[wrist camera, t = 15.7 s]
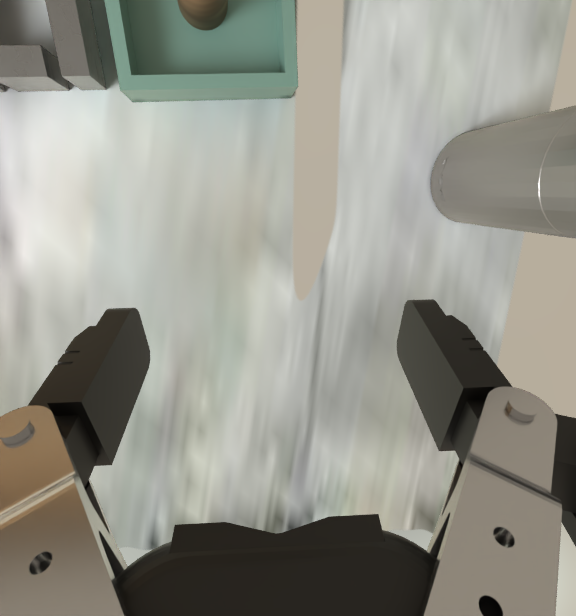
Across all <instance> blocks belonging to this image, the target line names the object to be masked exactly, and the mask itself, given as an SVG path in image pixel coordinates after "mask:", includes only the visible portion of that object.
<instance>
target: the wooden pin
mask: <svg viewBox="0 0 576 616" xmlns="http://www.w3.org/2000/svg"><path fill="white" fill-rule="evenodd" d="M177 1H178V5H179V9H180V11H181V13H182V15H183V17H184V18H185V20H186V21H187V22H188V23H189V24H190V25H192V26H193V27H195V28H197V29H199V30H205V31H207V30H213V29H215V28H217V27H218V26H219V25H220V24H221V23H222V22H223V21H224V19H225V17H226V14H227V9H228V0H177Z"/></svg>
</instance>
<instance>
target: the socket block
mask: <svg viewBox="0 0 576 616" xmlns="http://www.w3.org/2000/svg"><path fill="white" fill-rule="evenodd" d="M45 2H46V6H47V11H48V15H49V20H50V25H51V29H52V34H53V38H54V43H55V48H56V52H57V57H58V59H57V58H56V57H55V56H54V55H52V54H51V53H50V52H48V51H47V50H46V49H45V48H43V47H42V46H41V45H0V92H5V88H4V85H6V86H8V87H10V88H12V89H14V90H16V91H18V92H22V91H69V86H68V82H67V80H68V81H69V82H71V83H72V84H74V85H75V86H76V87H78V88H79V89H81V90H106V84H105V79H104V74H103V68H102V63H101V58H100V52H99V47H98V41H97V36H96V31H95V25H94V20H93V15H92V9H91V4H90V0H45ZM3 84H4V85H3Z"/></svg>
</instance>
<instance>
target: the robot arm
mask: <svg viewBox="0 0 576 616" xmlns="http://www.w3.org/2000/svg"><path fill="white" fill-rule="evenodd" d="M431 193H432V197H433V200H434V202H435V205H436V207H437V208H438V209H439V211H440V212H441V213H442V214H443V215H444V216H446V217H447V218H448V219H450V220H453V221H455V222H461V223H468V224H475V225H481V226H488V227H495V228H502V229H510V230H517V231H524V232H532V233H539V234H547V235H554V236H561V237H569V238H576V106H572V107H568V108H564V109H560V110H555V111H551V112H547V113H543V114H539V115H535V116H531V117H527V118H523V119H519V120H515V121H511V122H507V123H503V124H498V125H494V126H490V127H486V128H482V129H478V130H474V131H470V132H467V133H463V134H461V135H459V136H457V137H456V138H454V139H453V140H452V141H450V142H449V143H448V144H447V145H446V146H445V148H444V149H443V150H442V151H441V152H440V154H439V156H438V158H437V160H436V162H435V164H434V167H433V170H432V176H431ZM397 353H398V358H399V361H400V363H401V365H402V368H403V370H404V372H405V375H406V377H407V379H408V381H409V384H410V386H411V388H412V390H413V393H414V395H415V397H416V400H417V402H418V404H419V406H420V409H421V411H422V413H423V415H424V418H425V420H426V422H427V425H428V427H429V429H430V431H431V434H432V436H433V438H434V441H435V443H436V445H437V447H438V450H439V451H453V450H455V451H456V453H457V455H458V457H459V461H458V463H457V465H456V468H455V471H454V474H453V477H452V480H451V483H450V486H449V489H448V492H447V495H446V498H445V501H444V504H443V507H442V510H441V513H440V516H439V519H438V522H437V525H436V528H435V531H434V533H433V536H432V538H431V541H430V543H429V546H428V549H427V551H426V550H424V549H423V548H421V547H420V546H418V545H417V544H415V543H413V542H411V541H409V540H408V539H406V538H404V537H401V536H399V535H396V534H394V533H391V532H388V531H384V530H382V528H381V524H380V520H379V515H378V514H372V515H353V516H334V517H327V518H324V519H321V520H318V521H315V522H312V523H310V524H307V525H304V526H301V527H298V528H295V529H292V530H289V531H286V532H283V533H278V534H275V533H270V532H266V531H261V530H257V529H253V528H248V527H244V526H240V525H235V524H231V523H227V522H220V523H201V524H182V525H175V527H174V532H173V537H172V542H169V543H166V544H164V545H162V546H160V547H158V548H155V549H153V550H152V551H150V552H148V553H147V554H145V555H143V556H142V557H140V558H139V559H137V560H136V561H135V562H133V563H132V564H131V565H130V566H128V567H127V564H126V562H125V560H124V558H123V556H122V554H121V552H120V550H119V548H118V546H117V544H116V541H115V539H114V537H113V534H112V532H111V529H110V527H109V524H108V522H107V520H106V517H105V515H104V512H103V510H102V507H101V505H100V502H99V500H98V498H97V495H96V493H95V490H94V488H93V485H92V483H91V481H90V479H89V477H90V475H91V473H92V470H93V468H94V466H100V465H112V463H113V460H114V458H115V455H116V452H117V450H118V447H119V444H120V442H121V439H122V437H123V434H124V431H125V429H126V426H127V423H128V421H129V418H130V416H131V413H132V410H133V408H134V405H135V402H136V400H137V397H138V395H139V392H140V389H141V387H142V384H143V381H144V379H145V376H146V374H147V371H148V368H149V364H150V350H149V346H148V342H147V339H146V335H145V332H144V328H143V325H142V321H141V318H140V314H139V312H138V310H137V309H136V308H115V309H107V310H106V311H105V313H104V314H103V316H102V317H101V319H100V321H99V322H98V324H97V325H96V326H89V327H88V328H87V329H85V330H84V331H83V332H81V333H80V334H79V335H78V336H76V337H75V338H74V339H73V341H72V342H71V343H70V345H69V346H68V348H67V349H66V351H65V354H63V355H62V357H61V358H60V359H59V361H58V365H55V367H54V368H53V370H52V371H51V373H50V374H49V375H48V377H47V378H46V380H45V381H44V383H43V384H42V386H41V387H40V389H39V390H38V391H37V393H36V394H35V396H34V397H33V399H32V400H31V402H30V403H29V405H28V406H25V407H21V408H18V409H15V410H13V411H10V412H8V413H6V414H4V415H3V416H1V417H0V616H555V611H556V597H557V582H558V565H559V551H560V536H561V522H562V523H563V525H564V527H565V529H566V530H567V532H568V534H569V535H570V537H571V539H572V541H573V542H574V544H575V546H576V418H572V417H567V416H562V415H558V414H554V412H553V410H552V409H551V408H550V407H549V406H548V405H547V404H546V403H545V402H544V401H543V400H542V399H540V398H539V397H537V396H535V395H533V394H532V393H530V392H527V391H525V390H522V389H519V388H514V387H512V386H511V384H510V383H509V382H508V380H507V379H506V378H505V376H504V375H503V374H502V372H501V371H500V370H499V369H498V367H497V366H496V364H495V363H494V362H493V360H492V359H491V358H490V356H489V355H488V354H487V352H486V351H484V350H483V347H482V346H481V344H480V343H479V342H478V340H476V338H475V336H474V335H473V334H472V332H471V331H470V330H469V328H468V327H467V326H466V325H465V324H463V323H462V322H461V321H459V320H458V319H456V318H455V317H454V316H452V315H448V316H446V315H445V314H444V312H443V311H442V309H441V308H440V307H439V305H438V304H437V302H436V301H435V300H408V301H407V302H406V304H405V306H404V311H403V315H402V320H401V325H400V330H399V334H398V339H397Z"/></svg>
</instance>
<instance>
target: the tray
mask: <svg viewBox="0 0 576 616" xmlns="http://www.w3.org/2000/svg"><path fill="white" fill-rule="evenodd" d="M104 1H105V7H106V12H107V18H108V24H109V29H110V35H111V41H112V46H113V52H114V58H115V63H116V69H117V75H118V80H119V86H120V91H122V92H123V93H124V94H125V95H126V96H127V97H128V98H129V99H130V100H131V101H132V102H159V101H198V100H237V99H276V98H291V96H292V95H293V93H294V92H295V90H296V89H297V87H298V72H297V47H296V23H295V0H228V9H227V14H226V17H225V19H224V21H223V22H222V23H221V24H220V25H219V26H218V27H217V28H215V29H213V30H207V31H205V30H199V29H197V28H195V27H193V26H192V25H190V24H189V23H188V22H187V21H186V20H185V18H184V17H183V15H182V13H181V11H180V9H179V5H178V1H177V0H104Z"/></svg>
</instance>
